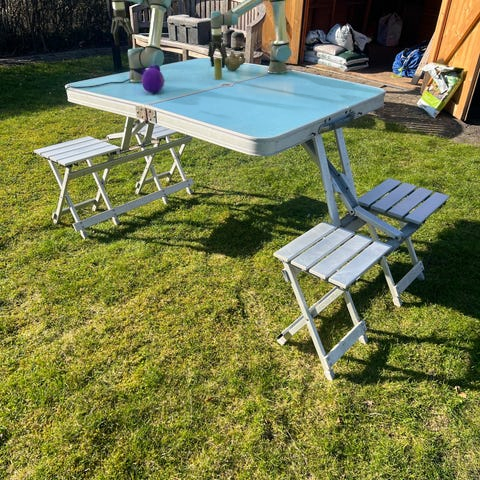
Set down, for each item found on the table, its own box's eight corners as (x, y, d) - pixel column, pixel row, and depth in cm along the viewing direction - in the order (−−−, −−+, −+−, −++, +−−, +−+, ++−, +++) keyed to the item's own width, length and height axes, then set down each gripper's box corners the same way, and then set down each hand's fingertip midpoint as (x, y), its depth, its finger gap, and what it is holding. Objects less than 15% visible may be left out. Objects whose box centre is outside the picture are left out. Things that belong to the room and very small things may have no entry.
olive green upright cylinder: (224, 78, 343) (223, 58, 335) (219, 79, 339) (218, 59, 331) (217, 77, 346) (217, 57, 339) (212, 78, 342) (211, 59, 335)
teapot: (225, 73, 360) (224, 53, 352) (218, 71, 369) (217, 51, 361) (248, 70, 369) (247, 50, 362) (240, 68, 378) (240, 49, 370)
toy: (156, 85, 322) (164, 98, 301) (131, 81, 314) (137, 93, 294) (160, 63, 314) (168, 74, 293) (135, 58, 306) (141, 69, 286)
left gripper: (136, 9, 281) (141, 46, 292) (111, 8, 294) (116, 43, 305) (127, 10, 276) (132, 47, 287) (102, 9, 289) (107, 45, 300)
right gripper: (231, 35, 324) (232, 67, 335) (208, 33, 335) (210, 65, 347) (225, 36, 318) (226, 69, 330) (201, 34, 330) (203, 66, 341)
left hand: (124, 45), depth 296 cm, fingers open, 13 cm apart
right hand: (218, 67), depth 338 cm, fingers open, 9 cm apart
